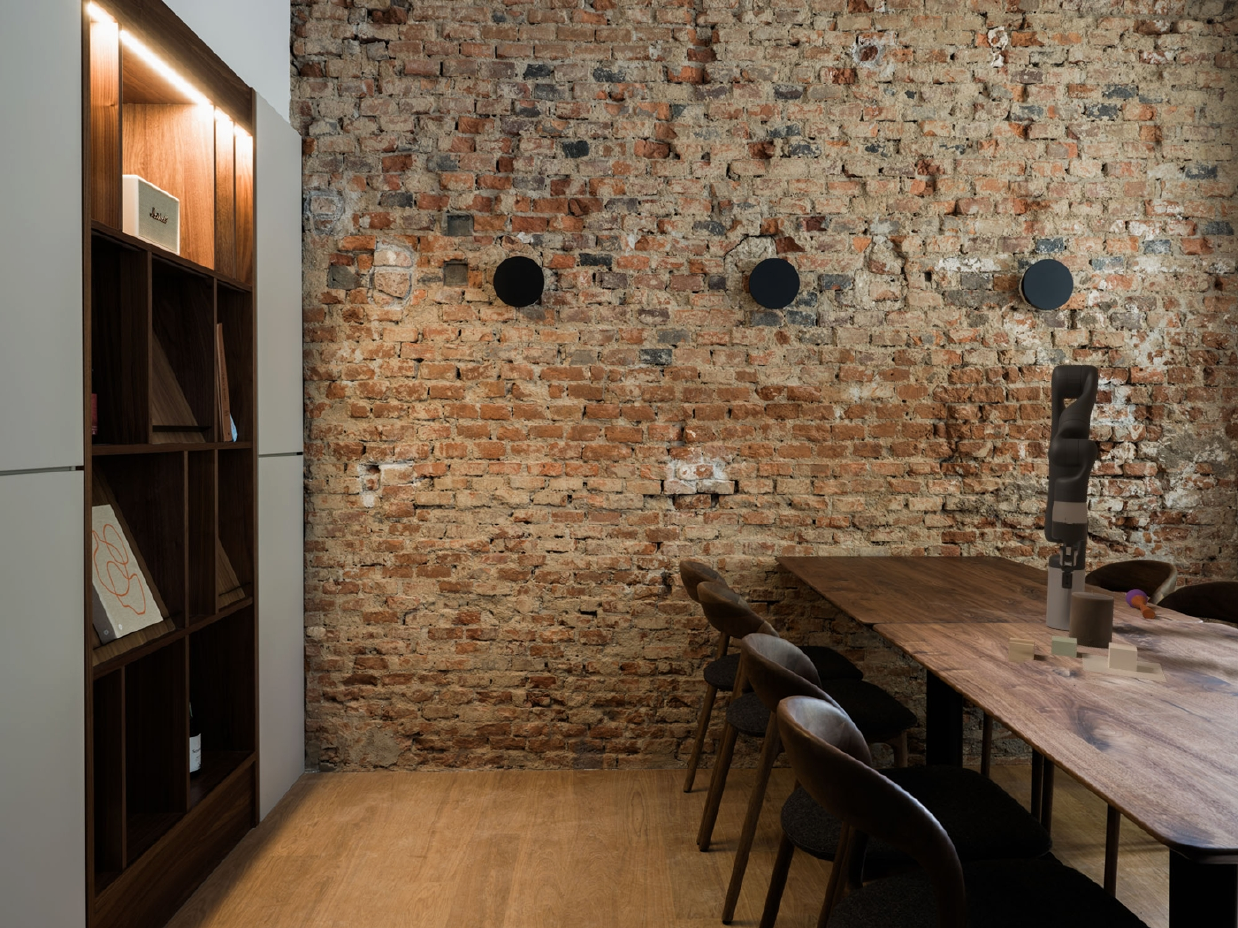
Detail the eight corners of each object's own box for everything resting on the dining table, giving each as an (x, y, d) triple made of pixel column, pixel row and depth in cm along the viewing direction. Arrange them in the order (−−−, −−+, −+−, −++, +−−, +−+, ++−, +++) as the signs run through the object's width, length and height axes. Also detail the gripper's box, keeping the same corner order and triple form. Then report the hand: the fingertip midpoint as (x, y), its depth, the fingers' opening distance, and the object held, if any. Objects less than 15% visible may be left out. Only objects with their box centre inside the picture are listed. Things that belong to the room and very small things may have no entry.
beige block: (1108, 662, 193) (1108, 642, 193) (1134, 665, 191) (1135, 645, 190) (1109, 668, 188) (1109, 647, 188) (1136, 671, 186) (1137, 651, 186)
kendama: (1135, 605, 245) (1122, 588, 264) (1138, 624, 245) (1125, 605, 264) (1158, 603, 243) (1143, 586, 261) (1161, 623, 243) (1146, 604, 262)
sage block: (1051, 654, 204) (1052, 635, 204) (1075, 657, 202) (1076, 638, 201) (1050, 659, 200) (1051, 640, 199) (1076, 662, 197) (1076, 643, 197)
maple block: (1009, 656, 202) (1010, 637, 201) (1034, 659, 199) (1034, 640, 199) (1008, 661, 197) (1009, 642, 197) (1033, 665, 194) (1034, 645, 194)
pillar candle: (1090, 653, 205) (1093, 594, 204) (1059, 643, 214) (1062, 587, 213) (1120, 651, 207) (1124, 593, 207) (1089, 641, 217) (1092, 586, 216)
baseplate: (1081, 658, 200) (1082, 653, 200) (1159, 668, 193) (1159, 663, 193) (1082, 675, 186) (1083, 670, 186) (1166, 687, 179) (1166, 681, 179)
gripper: (1052, 516, 207) (1050, 579, 208) (1051, 521, 195) (1049, 588, 195) (1086, 518, 203) (1083, 582, 204) (1087, 523, 191) (1084, 592, 192)
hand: (1066, 585), depth 200 cm, fingers open, 8 cm apart
